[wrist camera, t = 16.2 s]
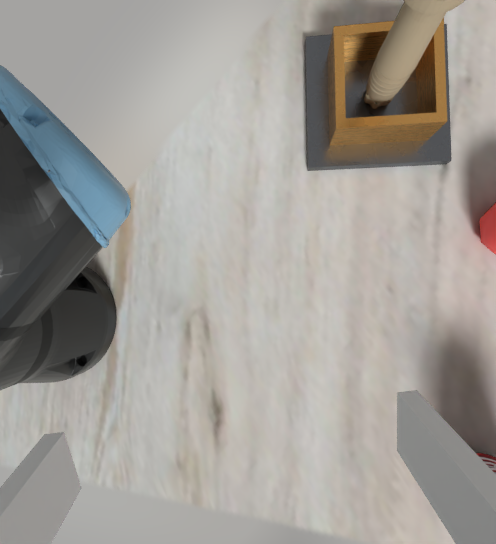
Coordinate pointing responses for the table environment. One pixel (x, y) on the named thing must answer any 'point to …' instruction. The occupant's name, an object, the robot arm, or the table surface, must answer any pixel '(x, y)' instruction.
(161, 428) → the table surface
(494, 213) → the apple
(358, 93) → the socket
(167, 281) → the table surface
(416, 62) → the handle
